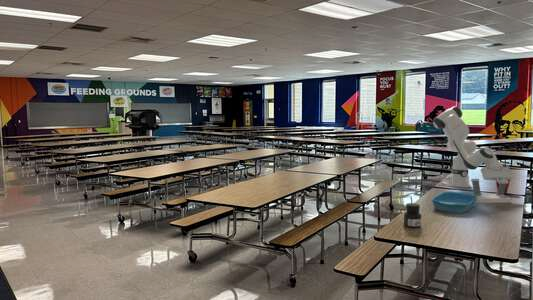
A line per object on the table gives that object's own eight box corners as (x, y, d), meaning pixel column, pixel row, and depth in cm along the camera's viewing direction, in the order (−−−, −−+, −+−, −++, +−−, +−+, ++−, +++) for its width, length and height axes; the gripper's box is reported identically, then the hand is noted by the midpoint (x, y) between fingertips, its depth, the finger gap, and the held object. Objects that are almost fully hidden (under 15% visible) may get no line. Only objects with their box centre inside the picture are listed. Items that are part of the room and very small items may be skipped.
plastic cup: (505, 191, 291) (506, 175, 290) (513, 194, 281) (514, 178, 280) (491, 191, 293) (491, 175, 291) (498, 194, 282) (498, 178, 281)
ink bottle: (409, 229, 201) (410, 207, 199) (399, 224, 209) (400, 203, 208) (425, 227, 203) (426, 205, 202) (414, 223, 212) (415, 202, 211)
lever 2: (495, 194, 264) (500, 179, 259) (501, 194, 264) (506, 179, 259) (497, 196, 262) (502, 181, 257) (503, 196, 262) (508, 181, 257)
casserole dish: (465, 217, 223) (466, 205, 223) (426, 210, 238) (427, 199, 237) (480, 205, 251) (481, 194, 250) (444, 200, 266) (445, 190, 265)
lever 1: (473, 196, 263) (471, 179, 266) (479, 196, 263) (477, 179, 266) (475, 195, 261) (472, 178, 264) (481, 195, 261) (479, 178, 264)
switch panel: (467, 198, 269) (467, 193, 269) (497, 197, 270) (497, 193, 270) (478, 203, 256) (479, 198, 255) (510, 202, 256) (510, 197, 256)
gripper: (481, 165, 266) (489, 181, 257) (510, 165, 267) (518, 181, 258) (477, 170, 271) (485, 187, 262) (505, 170, 272) (514, 186, 263)
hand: (502, 184), depth 260 cm, fingers closed, pressing on lever 2
